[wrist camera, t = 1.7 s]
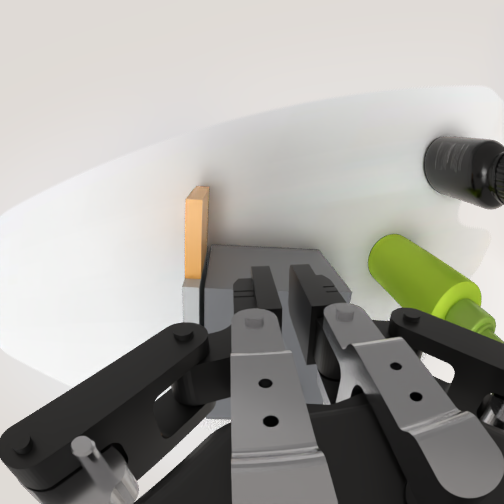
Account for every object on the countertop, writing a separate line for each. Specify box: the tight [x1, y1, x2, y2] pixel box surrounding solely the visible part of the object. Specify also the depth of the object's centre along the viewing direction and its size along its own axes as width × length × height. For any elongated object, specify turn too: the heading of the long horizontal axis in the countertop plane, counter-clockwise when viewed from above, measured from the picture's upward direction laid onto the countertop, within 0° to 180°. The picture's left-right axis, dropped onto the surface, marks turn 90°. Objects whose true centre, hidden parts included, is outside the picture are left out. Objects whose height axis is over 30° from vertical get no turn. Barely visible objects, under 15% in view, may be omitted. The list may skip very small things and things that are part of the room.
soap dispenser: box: [368, 234, 504, 343], centre depth 24 cm, size 6×7×20 cm
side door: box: [182, 186, 209, 326], centre depth 28 cm, size 21×1×10 cm, turn 176°
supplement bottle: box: [425, 136, 504, 209], centre depth 25 cm, size 7×7×12 cm
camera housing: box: [204, 245, 352, 419], centre depth 29 cm, size 14×13×11 cm
